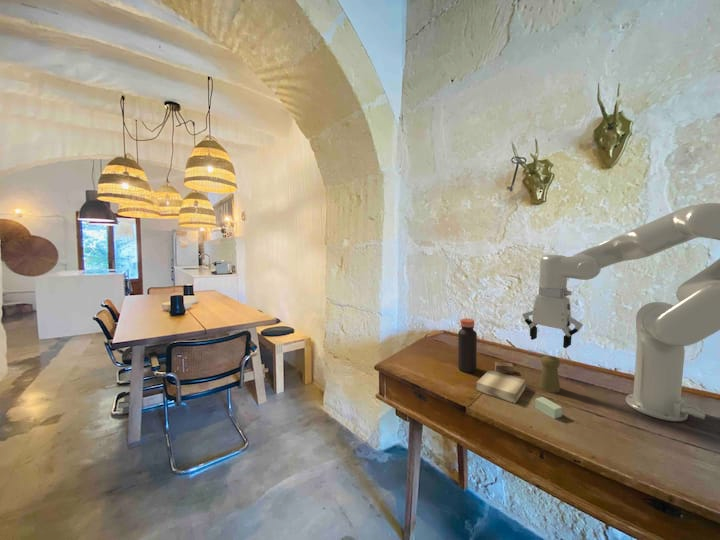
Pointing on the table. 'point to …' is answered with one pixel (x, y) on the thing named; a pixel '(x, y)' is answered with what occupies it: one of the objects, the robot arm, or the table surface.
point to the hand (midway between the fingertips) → (549, 342)
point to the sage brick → (548, 407)
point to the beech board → (501, 386)
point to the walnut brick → (504, 367)
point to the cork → (550, 374)
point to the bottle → (467, 347)
